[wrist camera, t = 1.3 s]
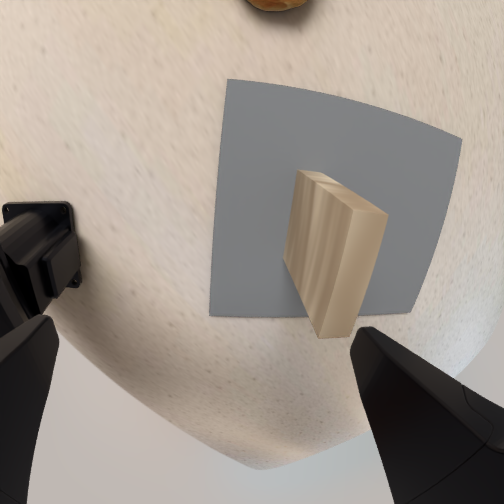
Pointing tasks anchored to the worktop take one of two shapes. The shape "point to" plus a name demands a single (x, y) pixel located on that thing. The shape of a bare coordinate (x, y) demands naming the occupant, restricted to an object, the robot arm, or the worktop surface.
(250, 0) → the pastry
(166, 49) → the worktop surface
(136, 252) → the worktop surface
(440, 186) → the mat
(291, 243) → the tile
